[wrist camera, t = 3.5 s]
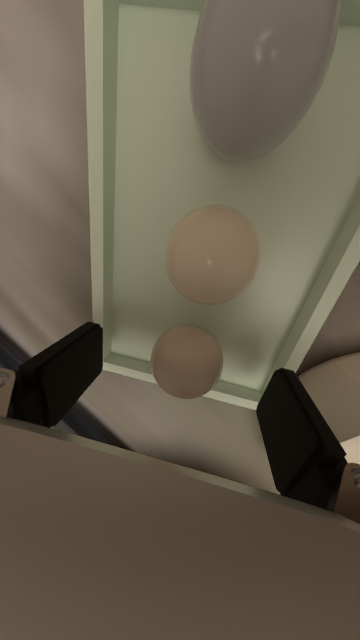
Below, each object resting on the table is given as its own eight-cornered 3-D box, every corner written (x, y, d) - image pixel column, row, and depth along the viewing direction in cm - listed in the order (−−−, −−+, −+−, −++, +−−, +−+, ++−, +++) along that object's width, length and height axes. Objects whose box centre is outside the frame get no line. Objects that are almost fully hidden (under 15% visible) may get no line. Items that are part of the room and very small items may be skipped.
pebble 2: (165, 307, 11) (143, 338, 8) (229, 322, 11) (237, 362, 7) (157, 358, 13) (136, 404, 9) (213, 373, 13) (212, 425, 9)
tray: (107, -16, 7) (81, -78, 6) (463, 15, 6) (536, -50, 5) (105, 355, 14) (93, 367, 13) (266, 396, 13) (271, 414, 12)
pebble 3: (207, 34, 7) (200, -203, 3) (319, 45, 6) (454, -203, 3) (187, 168, 8) (167, 114, 5) (274, 182, 8) (323, 136, 5)
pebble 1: (181, 205, 9) (160, 182, 5) (262, 220, 9) (296, 206, 5) (169, 284, 11) (146, 306, 7) (237, 298, 10) (249, 329, 7)
